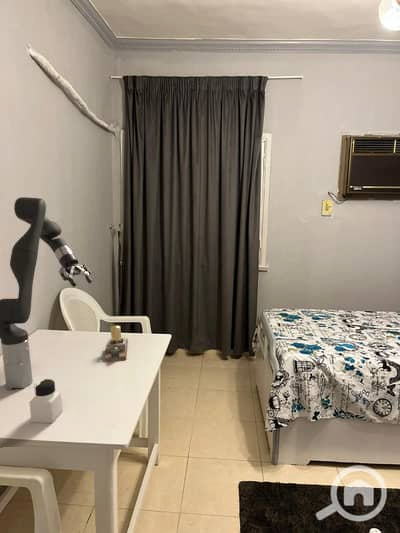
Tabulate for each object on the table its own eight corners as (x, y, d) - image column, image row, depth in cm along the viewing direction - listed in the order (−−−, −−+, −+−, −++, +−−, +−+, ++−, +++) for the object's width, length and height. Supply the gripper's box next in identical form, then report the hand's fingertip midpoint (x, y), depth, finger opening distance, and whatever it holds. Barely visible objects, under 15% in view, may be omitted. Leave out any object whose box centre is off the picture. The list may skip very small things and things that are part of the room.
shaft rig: (126, 360, 166) (125, 348, 165) (104, 362, 164) (104, 349, 163) (127, 340, 189) (127, 330, 188) (109, 342, 187) (108, 331, 186)
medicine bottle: (63, 411, 126) (60, 377, 124) (52, 423, 119) (49, 387, 117) (42, 410, 127) (39, 376, 125) (31, 422, 120) (27, 387, 118)
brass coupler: (121, 349, 174) (120, 328, 173) (111, 349, 174) (110, 328, 172) (121, 345, 179) (120, 324, 177) (112, 346, 178) (110, 325, 176)
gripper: (55, 254, 173) (73, 281, 168) (81, 250, 184) (98, 276, 180) (49, 264, 177) (66, 292, 172) (75, 260, 188) (92, 286, 184)
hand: (83, 284), depth 176 cm, fingers open, 8 cm apart
